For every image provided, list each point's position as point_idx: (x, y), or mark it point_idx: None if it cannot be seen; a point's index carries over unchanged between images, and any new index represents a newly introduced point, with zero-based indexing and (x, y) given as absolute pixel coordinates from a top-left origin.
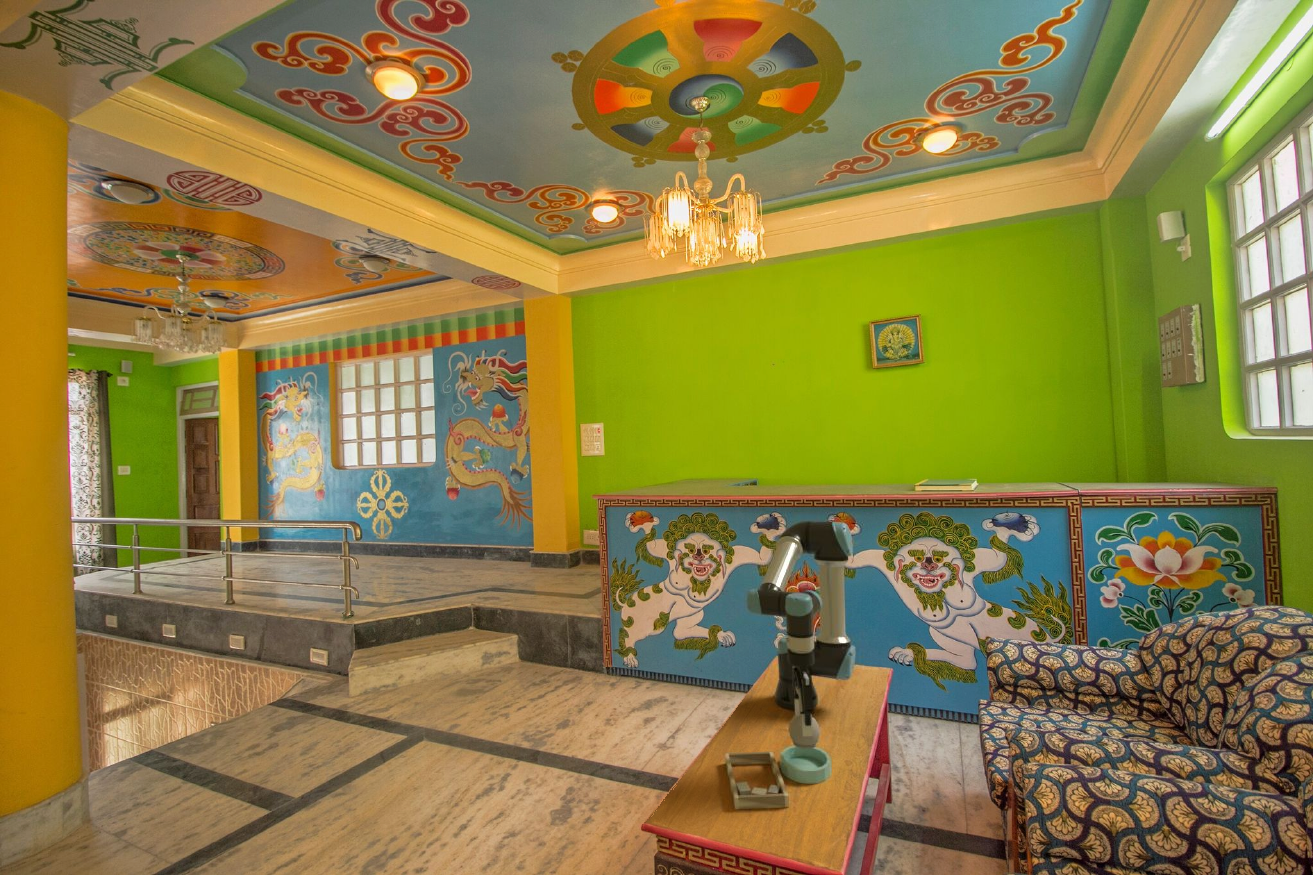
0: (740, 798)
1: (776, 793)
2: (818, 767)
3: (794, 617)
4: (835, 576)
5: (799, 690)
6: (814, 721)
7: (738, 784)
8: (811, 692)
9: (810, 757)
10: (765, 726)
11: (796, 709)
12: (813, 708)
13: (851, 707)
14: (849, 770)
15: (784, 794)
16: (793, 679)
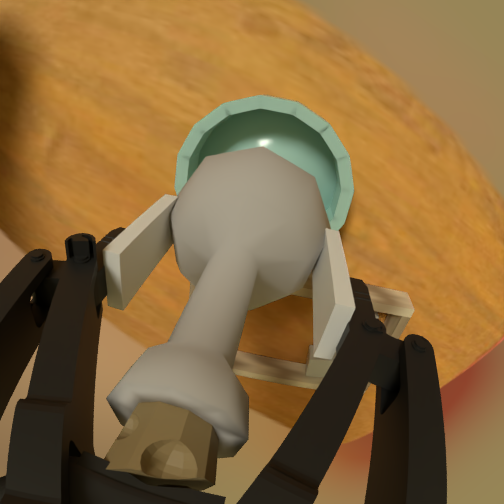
0: (367, 387)
1: (377, 318)
2: (277, 137)
3: None
4: None
5: (223, 452)
6: (279, 207)
7: (312, 373)
8: (441, 486)
9: (211, 136)
10: (37, 198)
11: (150, 270)
12: (435, 369)
13: None
14: (309, 44)
15: (405, 316)
16: (17, 382)
